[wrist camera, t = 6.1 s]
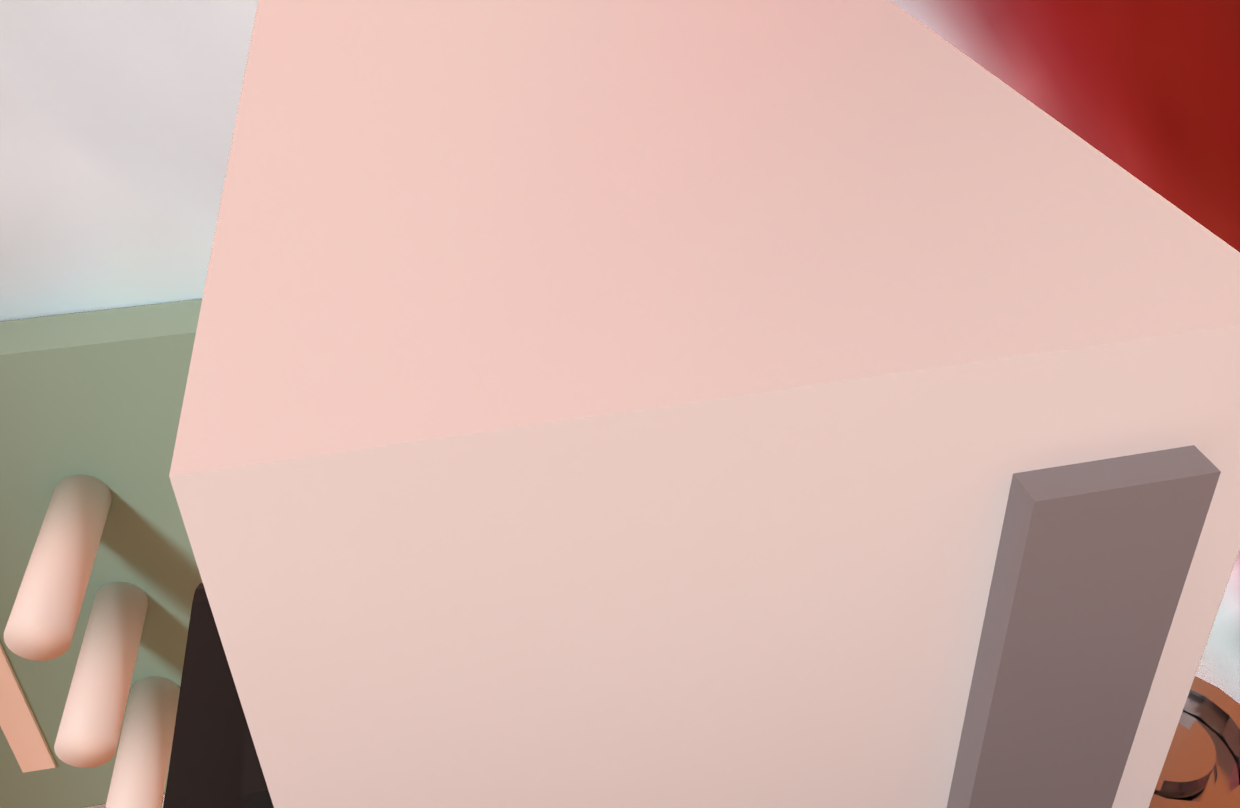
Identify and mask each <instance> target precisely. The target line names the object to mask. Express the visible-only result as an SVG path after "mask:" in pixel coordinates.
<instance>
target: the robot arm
mask: <svg viewBox="0 0 1240 808" xmlns="http://www.w3.org/2000/svg"><path fill="white" fill-rule="evenodd" d="M163 808H274V806H273V803H272V800H271V797H270V794H269V790H268V787H267V784H266V781H265V778H264V775H263V771H262V768H261V765H260V762H259V759H258V756H257V752H256V749H255V746H254V743H253V740H252V737H251V734H250V730H249V727H248V724H247V721H246V718H245V715H244V711H243V708H242V705H241V702H240V699H239V696H238V692H237V689H236V686H235V683H234V680H233V677H232V674H231V670H230V667H229V664H228V661H227V658H226V655H225V651H224V648H223V645H222V642H221V639H220V636H219V632H218V629H217V626H216V623H215V620H214V617H213V613H212V610H211V607H210V604H209V601H208V598H207V595H206V591H205V588H204V585H203V583H200V584H199V585H198V587H197V588H196V589H195V593H194V597H193V602H192V608H191V615H190V622H189V629H188V636H187V643H186V650H185V657H184V664H183V672H182V679H181V686H180V693H179V700H178V707H177V714H176V721H175V728H174V736H173V743H172V750H171V757H170V764H169V771H168V778H167V785H166V792H165V800H164V807H163ZM1148 808H1240V704H1239V703H1237V702H1236V701H1235V700H1233V699H1232V698H1231V697H1230V696H1228V695H1227V694H1226V693H1224V692H1223V691H1222V690H1221V689H1219V688H1218V687H1216V686H1214V685H1212V684H1210V683H1208V682H1206V681H1204V680H1202V679H1200V678H1198V677H1196V676H1195V677H1194V680H1193V683H1192V686H1191V689H1190V691H1189V694H1188V697H1187V700H1186V703H1185V706H1184V708H1183V711H1182V714H1181V717H1180V720H1179V723H1178V725H1177V728H1176V731H1175V734H1174V737H1173V740H1172V742H1171V745H1170V748H1169V751H1168V754H1167V756H1166V759H1165V762H1164V765H1163V768H1162V771H1161V773H1160V776H1159V779H1158V782H1157V785H1156V788H1155V790H1154V793H1153V796H1152V799H1151V802H1150V805H1149V807H1148Z"/></svg>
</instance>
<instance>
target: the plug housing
mask: <svg viewBox="0 0 1240 808" xmlns="http://www.w3.org/2000/svg"><path fill="white" fill-rule="evenodd" d="M169 478H170V481H171V484H172V487H173V490H174V493H175V497H176V500H177V503H178V506H179V509H180V512H181V516H182V519H183V522H184V525H185V528H186V531H187V535H188V538H189V541H190V544H191V547H192V550H193V554H194V557H195V560H196V563H197V566H198V569H199V572H200V576H201V579H202V582H203V585H204V588H205V591H206V595H207V598H208V601H209V604H210V607H211V610H212V613H213V617H214V620H215V623H216V626H217V629H218V632H219V636H220V639H221V642H222V645H223V648H224V651H225V655H226V658H227V661H228V664H229V667H230V670H231V674H232V677H233V680H234V683H235V686H236V689H237V692H238V696H239V699H240V702H241V705H242V708H243V711H244V715H245V718H246V721H247V724H248V727H249V730H250V734H251V737H252V740H253V743H254V746H255V749H256V752H257V756H258V759H259V762H260V765H261V768H262V771H263V775H264V778H265V781H266V784H267V787H268V790H269V794H270V797H271V800H272V803H273V806H274V808H1148V807H1149V805H1150V802H1151V799H1152V796H1153V793H1154V790H1155V788H1156V785H1157V782H1158V779H1159V776H1160V773H1161V771H1162V768H1163V765H1164V762H1165V759H1166V756H1167V754H1168V751H1169V748H1170V745H1171V742H1172V740H1173V737H1174V734H1175V731H1176V728H1177V725H1178V723H1179V720H1180V717H1181V714H1182V711H1183V708H1184V706H1185V703H1186V700H1187V697H1188V694H1189V691H1190V689H1191V686H1192V683H1193V680H1194V677H1195V674H1196V672H1197V669H1198V666H1199V663H1200V660H1201V657H1202V655H1203V652H1204V649H1205V646H1206V643H1207V640H1208V638H1209V635H1210V632H1211V629H1212V626H1213V623H1214V621H1215V618H1216V615H1217V612H1218V609H1219V606H1220V604H1221V601H1222V598H1223V595H1224V592H1225V589H1226V587H1227V584H1228V581H1229V578H1230V575H1231V572H1232V570H1233V567H1234V564H1235V561H1236V558H1237V555H1238V553H1239V550H1240V252H1238V251H1237V250H1236V249H1234V248H1233V247H1231V246H1230V245H1229V244H1227V243H1226V242H1224V241H1223V240H1222V239H1220V238H1219V237H1218V236H1216V235H1215V234H1213V233H1212V232H1211V231H1209V230H1208V229H1206V228H1205V227H1204V226H1202V225H1201V224H1200V223H1198V222H1197V221H1195V220H1194V219H1193V218H1191V217H1190V216H1188V215H1187V214H1186V213H1184V212H1183V211H1181V210H1180V209H1179V208H1177V207H1176V206H1175V205H1173V204H1172V203H1170V202H1169V201H1168V200H1166V199H1165V198H1163V197H1162V196H1161V195H1159V194H1158V193H1157V192H1155V191H1154V190H1152V189H1151V188H1150V187H1148V186H1147V185H1145V184H1144V183H1143V182H1141V181H1140V180H1138V179H1137V178H1136V177H1134V176H1133V175H1132V174H1130V173H1129V172H1127V171H1126V170H1125V169H1123V168H1122V167H1120V166H1119V165H1118V164H1116V163H1115V162H1114V161H1112V160H1111V159H1109V158H1108V157H1107V156H1105V155H1104V154H1102V153H1101V152H1100V151H1098V150H1097V149H1095V148H1094V147H1093V146H1091V145H1090V144H1089V143H1087V142H1086V141H1084V140H1083V139H1082V138H1080V137H1079V136H1077V135H1076V134H1075V133H1073V132H1072V131H1071V130H1069V129H1068V128H1066V127H1065V126H1064V125H1062V124H1061V123H1059V122H1058V121H1057V120H1055V119H1054V118H1052V117H1051V116H1050V115H1048V114H1047V113H1046V112H1044V111H1043V110H1041V109H1040V108H1039V107H1037V106H1036V105H1034V104H1033V103H1032V102H1030V101H1029V100H1028V99H1026V98H1025V97H1023V96H1022V95H1021V94H1019V93H1018V92H1016V91H1015V90H1014V89H1012V88H1011V87H1009V86H1008V85H1007V84H1005V83H1004V82H1003V81H1001V80H1000V79H998V78H997V77H996V76H994V75H993V74H991V73H990V72H989V71H987V70H986V69H985V68H983V67H982V66H980V65H979V64H978V63H976V62H975V61H973V60H972V59H971V58H969V57H968V56H966V55H965V54H964V53H962V52H961V51H960V50H958V49H957V48H955V47H954V46H953V45H951V44H950V43H948V42H947V41H946V40H944V39H943V38H942V37H940V36H939V35H937V34H936V33H935V32H933V31H932V30H930V29H929V28H928V27H926V26H925V25H923V24H922V23H921V22H919V21H918V20H917V19H915V18H914V17H912V16H911V15H910V14H908V13H907V12H905V11H904V10H903V9H901V8H900V7H899V6H897V5H896V4H894V3H893V2H892V1H890V0H258V5H257V11H256V16H255V21H254V27H253V32H252V37H251V43H250V48H249V53H248V59H247V64H246V69H245V75H244V80H243V85H242V91H241V96H240V101H239V106H238V112H237V117H236V122H235V128H234V133H233V138H232V144H231V149H230V154H229V160H228V165H227V170H226V176H225V181H224V186H223V192H222V197H221V202H220V208H219V213H218V218H217V224H216V229H215V234H214V240H213V245H212V250H211V256H210V261H209V266H208V272H207V277H206V282H205V287H204V293H203V298H202V303H201V309H200V314H199V319H198V325H197V330H196V335H195V341H194V346H193V351H192V357H191V362H190V367H189V373H188V378H187V383H186V389H185V394H184V399H183V405H182V410H181V415H180V421H179V426H178V431H177V437H176V442H175V447H174V452H173V458H172V463H171V468H170V474H169Z"/></svg>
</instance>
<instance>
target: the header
mask: <svg viewBox="0 0 1240 808" xmlns="http://www.w3.org/2000/svg"><path fill="white" fill-rule="evenodd" d="M201 303H202V299H194V300H185V301H177V302H168V303H159V304H150V305H141V306H132V307H124V308H115V309H106V310H97V311H88V312H79V313H71V314H62V315H53V316H44V317H35V318H26V319H18V320H9V321H0V808H82V807H88V806H94V805H101V804H106V807H105V808H161V807H162V801H163V795H164V794H165V792H166V785H167V778H168V771H169V764H170V757H171V750H172V743H173V736H174V728H175V721H176V714H177V707H178V700H179V693H180V686H181V679H182V672H183V664H184V657H185V650H186V643H187V636H188V629H189V622H190V615H191V608H192V602H193V597H194V593H195V589H196V588H197V587H198V585H199V584H200V583H203V582H202V579H201V576H200V572H199V569H198V566H197V563H196V560H195V557H194V554H193V550H192V547H191V544H190V541H189V538H188V535H187V531H186V528H185V525H184V522H183V519H182V516H181V512H180V509H179V506H178V503H177V500H176V497H175V493H174V490H173V487H172V484H171V481H170V478H169V474H170V468H171V463H172V458H173V452H174V447H175V442H176V437H177V431H178V426H179V421H180V415H181V410H182V405H183V399H184V394H185V389H186V383H187V378H188V373H189V367H190V362H191V357H192V351H193V346H194V341H195V335H196V330H197V325H198V319H199V314H200V309H201Z"/></svg>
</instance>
